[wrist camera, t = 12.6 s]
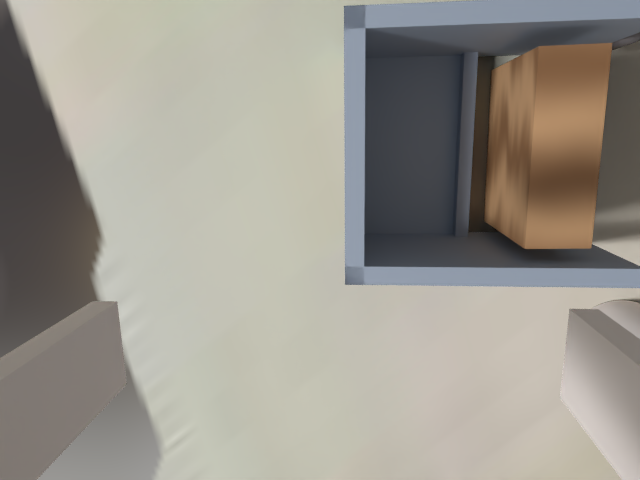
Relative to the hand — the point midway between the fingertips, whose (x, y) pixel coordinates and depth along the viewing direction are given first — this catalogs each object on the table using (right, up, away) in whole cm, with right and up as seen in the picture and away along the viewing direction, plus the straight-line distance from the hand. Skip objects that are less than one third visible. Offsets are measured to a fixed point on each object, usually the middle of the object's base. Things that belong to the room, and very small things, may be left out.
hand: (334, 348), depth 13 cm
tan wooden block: (+15, +11, +24) cm, 30 cm away
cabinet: (+12, +11, +24) cm, 29 cm away
